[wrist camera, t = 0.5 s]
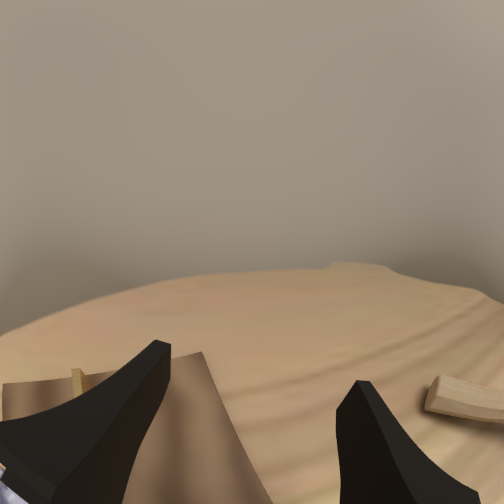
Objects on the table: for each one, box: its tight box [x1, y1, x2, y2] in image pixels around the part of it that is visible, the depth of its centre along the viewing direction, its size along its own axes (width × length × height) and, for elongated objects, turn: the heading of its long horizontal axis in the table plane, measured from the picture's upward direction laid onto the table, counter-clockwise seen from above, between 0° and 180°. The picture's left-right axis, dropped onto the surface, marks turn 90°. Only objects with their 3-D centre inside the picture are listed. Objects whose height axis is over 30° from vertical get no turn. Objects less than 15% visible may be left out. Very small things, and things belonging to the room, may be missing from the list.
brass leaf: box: [72, 368, 94, 398], centre depth 18 cm, size 13×2×4 cm, turn 24°
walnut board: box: [2, 352, 273, 504], centre depth 18 cm, size 28×20×1 cm
